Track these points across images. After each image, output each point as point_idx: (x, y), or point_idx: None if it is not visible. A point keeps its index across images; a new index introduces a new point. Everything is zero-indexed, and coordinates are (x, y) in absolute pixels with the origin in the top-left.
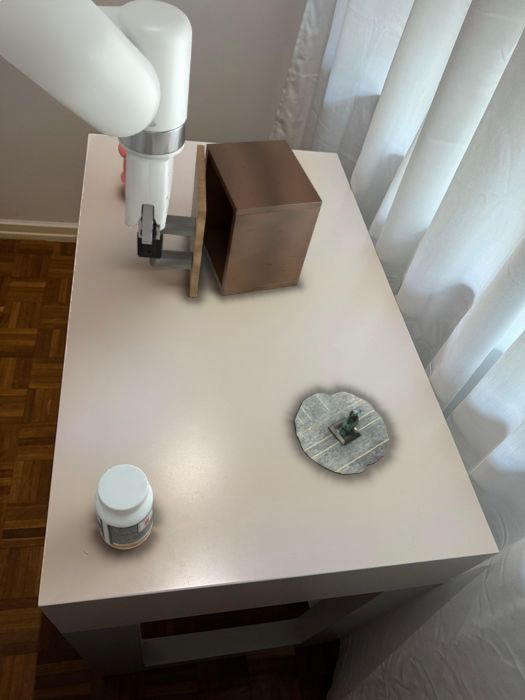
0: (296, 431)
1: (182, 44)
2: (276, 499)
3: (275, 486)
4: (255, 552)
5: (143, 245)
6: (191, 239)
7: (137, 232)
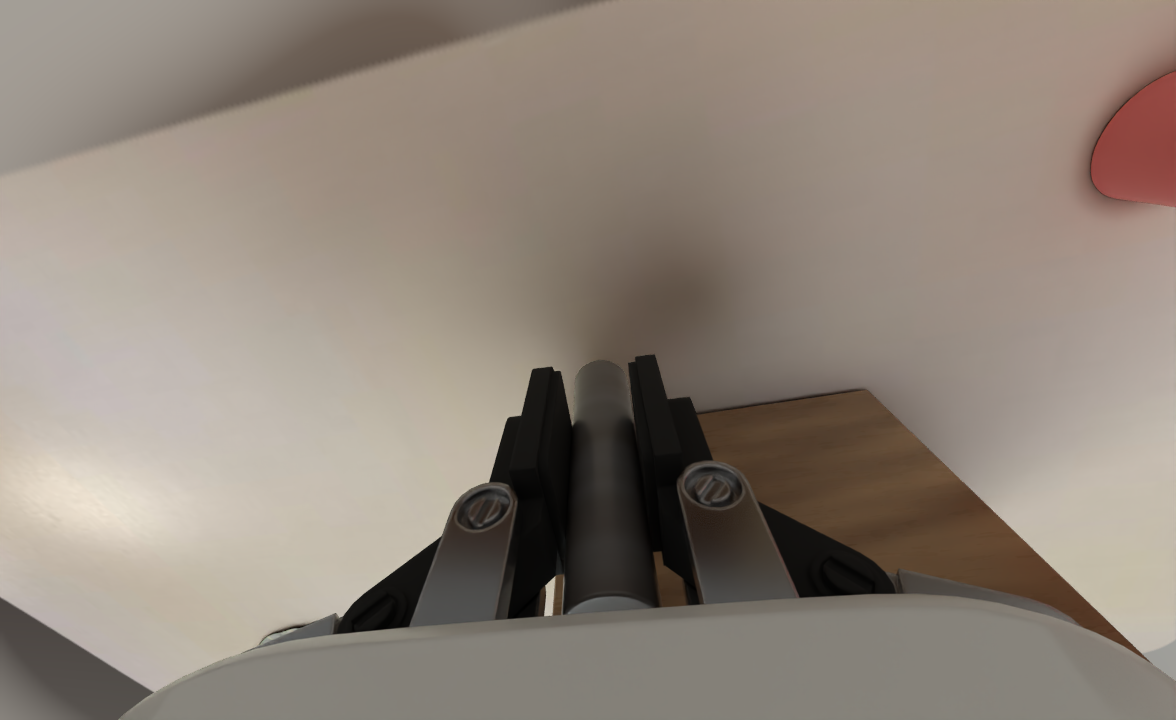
0: (296, 628)
1: None
2: (150, 611)
3: (171, 609)
4: (38, 595)
5: (495, 464)
6: (755, 472)
7: (527, 468)
